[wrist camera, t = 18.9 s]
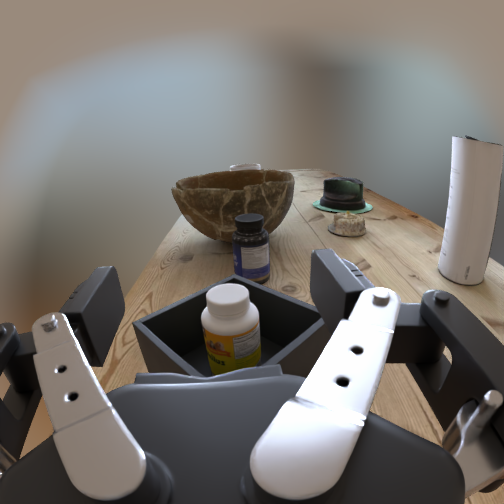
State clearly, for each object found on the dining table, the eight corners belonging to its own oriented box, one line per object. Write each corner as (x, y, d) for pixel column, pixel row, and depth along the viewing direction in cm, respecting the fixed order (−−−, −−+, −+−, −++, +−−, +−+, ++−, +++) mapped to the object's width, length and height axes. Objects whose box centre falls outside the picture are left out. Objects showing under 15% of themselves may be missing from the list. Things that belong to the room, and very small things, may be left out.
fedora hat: (376, 199, 101) (374, 215, 84) (331, 219, 111) (321, 238, 94) (357, 161, 98) (352, 169, 82) (312, 183, 108) (298, 196, 92)
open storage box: (234, 452, 22) (224, 402, 20) (149, 373, 32) (131, 322, 29) (328, 367, 32) (335, 313, 29) (238, 321, 41) (234, 273, 39)
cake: (360, 226, 79) (362, 206, 76) (370, 239, 69) (374, 218, 67) (324, 223, 79) (326, 203, 77) (331, 236, 70) (333, 214, 68)
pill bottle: (236, 271, 56) (231, 213, 52) (269, 269, 56) (267, 211, 52) (234, 287, 51) (228, 223, 46) (271, 285, 50) (268, 221, 46)
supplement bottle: (203, 365, 33) (188, 288, 29) (246, 349, 35) (240, 273, 31) (224, 397, 28) (211, 316, 24) (271, 377, 31) (269, 296, 27)
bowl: (168, 268, 59) (157, 194, 53) (187, 226, 84) (180, 174, 78) (307, 257, 60) (307, 182, 54) (285, 219, 85) (283, 166, 79)
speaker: (485, 290, 42) (508, 142, 32) (435, 279, 47) (451, 132, 37) (481, 268, 50) (497, 142, 40) (438, 258, 55) (450, 133, 45)
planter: (247, 195, 117) (245, 167, 113) (225, 193, 125) (223, 167, 121) (267, 190, 126) (266, 164, 121) (245, 187, 133) (244, 163, 129)
